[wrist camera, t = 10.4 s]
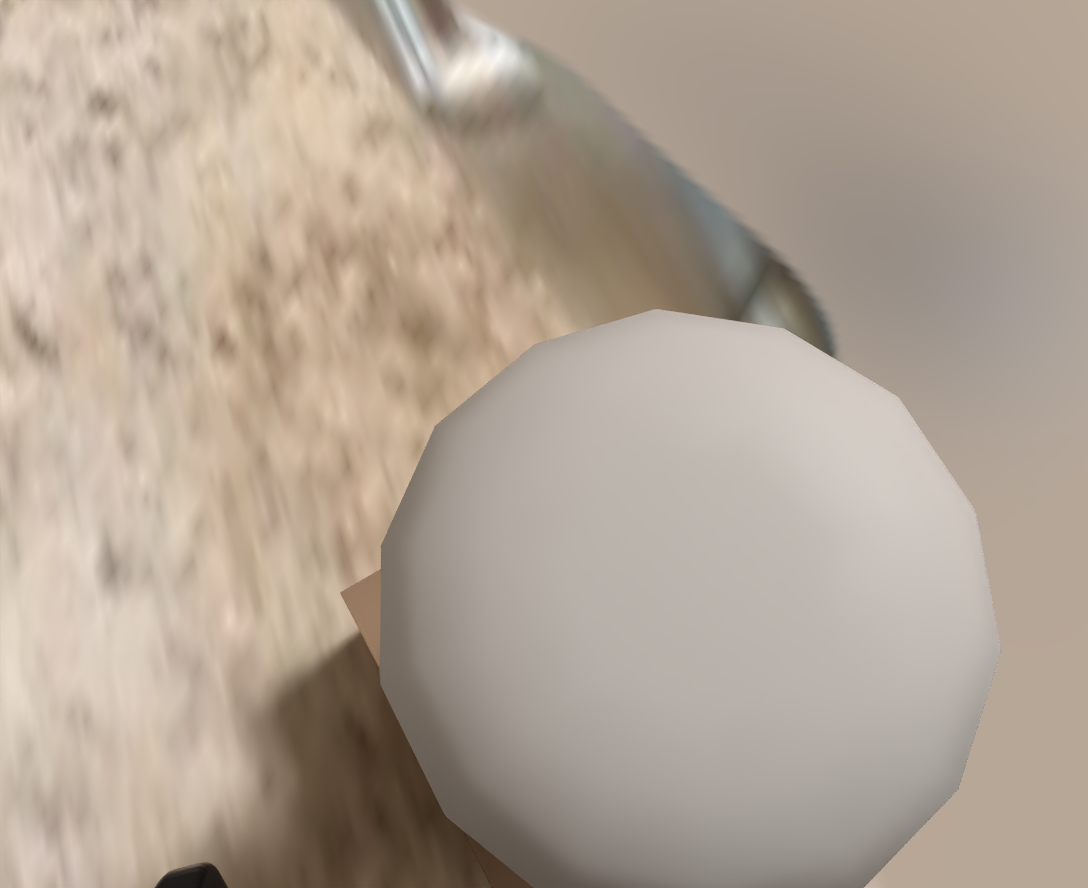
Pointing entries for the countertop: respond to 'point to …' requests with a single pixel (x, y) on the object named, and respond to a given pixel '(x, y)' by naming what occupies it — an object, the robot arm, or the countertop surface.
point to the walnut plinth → (366, 614)
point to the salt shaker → (686, 613)
